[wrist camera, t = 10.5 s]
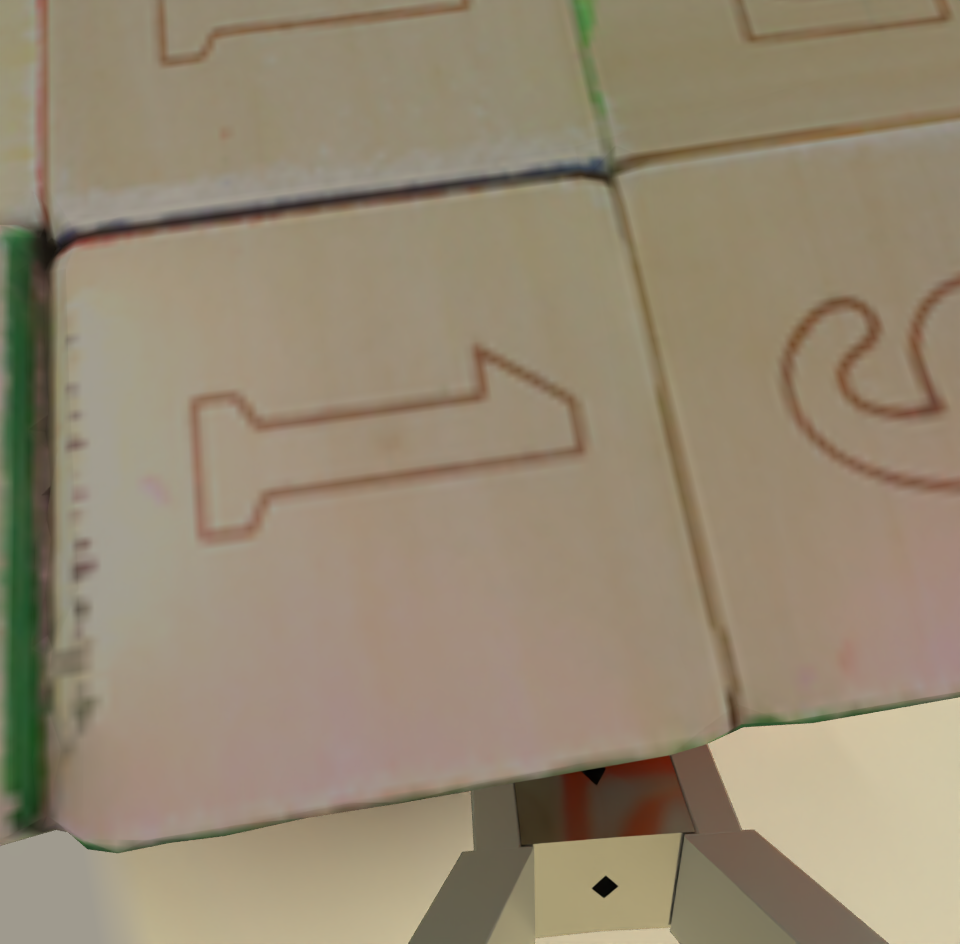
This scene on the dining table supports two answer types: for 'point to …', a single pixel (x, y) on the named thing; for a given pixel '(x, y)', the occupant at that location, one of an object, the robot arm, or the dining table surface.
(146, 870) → the dining table surface
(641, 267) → the stack of blocks
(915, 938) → the dining table surface
